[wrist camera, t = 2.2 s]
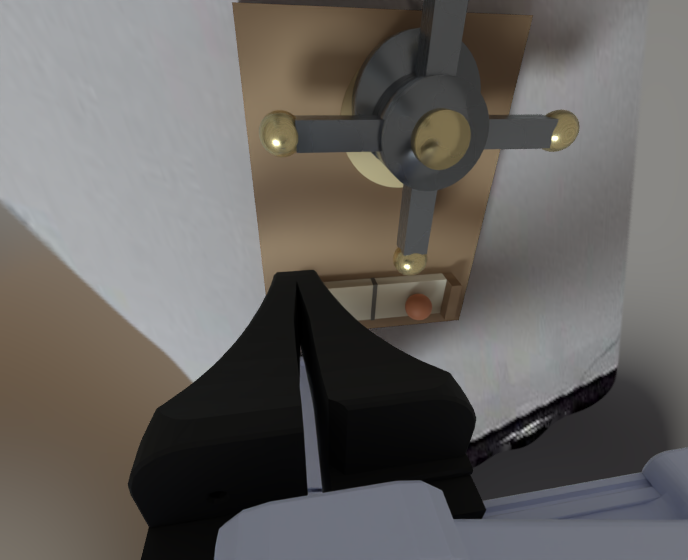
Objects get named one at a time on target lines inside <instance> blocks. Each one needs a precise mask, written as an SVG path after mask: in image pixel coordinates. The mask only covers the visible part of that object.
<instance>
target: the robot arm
mask: <svg viewBox="0 0 688 560" xmlns="http://www.w3.org/2000/svg"><path fill="white" fill-rule="evenodd" d="M300 345H301V350H302V354H303V356H302V357H300ZM475 423H476V416H475V412H474V409H473V407H472V406H471V404H470V402H469V400H468V398H467V397H466V395H465V394H464V392H463V390H462V389H461V387H460V386H459V385H458V383H457V382H456V381H455V379H454V378H453V377H452V375H451V374H450V373H449V372H447V371H444V370H442V369H439V368H437V367H435V366H432V365H430V364H427V363H425V362H423V361H420V360H418V359H416V358H414V357H412V356H410V355H408V354H406V353H405V352H403V351H401V350H399V349H397V348H396V347H394V346H392V345H390V344H389V343H387V342H386V341H384V340H383V339H381V338H380V337H378V336H377V335H375V334H374V333H372V332H371V331H370V330H368V329H367V328H366V327H365V326H363V325H362V324H361V323H360V322H359V321H358V320H357V319H355V318H354V317H353V316H352V315H351V314H350V313H349V312H348V311H347V310H346V309H345V308H344V307H343V306H342V305H341V304H340V302H339V301H338V300H337V299H336V298H335V297H334V296H333V294H332V293H331V292H330V291H329V290H328V288H327V287H326V286H325V284H324V283H323V281H322V280H321V279H320V277H319V275H318V274H317V272H316V271H315V270H301V271H287V272H277V273H276V274H275V275H274V276H273V280H272V283H271V286H270V288H269V290H268V292H267V295H266V296H265V298H264V300H263V302H262V304H261V306H260V308H259V309H258V311H257V313H256V314H255V316H254V317H253V319H252V320H251V322H250V324H249V325H248V326H247V328H246V329H245V331H244V332H243V333H242V335H241V336H240V337H239V338H238V339H237V341H236V342H235V343H234V344H233V345H232V347H231V348H230V349H229V350H228V351H227V352H226V353H225V354H224V355H223V356H222V357H221V358H220V359H219V360H218V361H217V362H216V363H215V364H214V365H213V366H212V367H211V368H210V369H209V370H208V371H206V372H205V373H204V374H203V375H202V376H201V377H200V378H198V379H197V380H196V381H195V382H194V383H192V384H191V385H190V386H188V387H187V388H186V389H184V390H183V391H182V392H180V393H179V394H177V395H176V396H175V397H173V398H172V399H170V400H169V401H168V402H166V403H165V404H163V405H162V406H160V407H158V408H157V409H156V411H155V413H154V415H153V417H152V419H151V421H150V423H149V425H148V427H147V430H146V431H145V434H144V436H143V438H142V440H141V443H140V446H139V448H138V451H137V454H136V458H135V461H134V464H133V467H132V471H131V474H130V478H129V482H128V487H129V490H130V494H131V496H132V498H133V500H134V501H135V503H136V505H137V507H138V509H139V510H140V512H141V514H142V516H143V517H144V519H145V521H146V522H147V524H148V526H149V529H148V533H147V537H146V541H145V546H144V549H143V553H142V557H141V560H688V447H686V448H681V449H675V450H669V451H665V452H662V453H659V454H657V455H655V456H654V457H652V458H651V459H650V460H649V461H648V462H647V463H646V465H645V466H644V468H643V471H642V472H641V473H635V474H630V475H624V476H618V477H613V478H608V479H602V480H597V481H591V482H585V483H580V484H574V485H568V486H563V487H558V488H552V489H547V490H541V491H535V492H530V493H525V494H518V495H513V496H507V497H502V498H496V499H491V500H485V501H482V499H481V497H480V495H479V493H478V491H477V488H476V486H475V484H474V482H473V480H472V478H471V476H470V474H472V472H473V468H472V465H471V463H470V461H469V459H468V457H467V455H466V451H467V448H468V445H469V443H470V440H471V437H472V434H473V431H474V428H475Z"/></svg>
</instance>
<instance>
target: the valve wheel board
mask: <svg viewBox="0 0 688 560" xmlns="http://www.w3.org/2000/svg"><path fill="white" fill-rule="evenodd" d="M232 5H233V14H234V22H235V31H236V40H237V48H238V57H239V66H240V74H241V83H242V92H243V100H244V109H245V118H246V126H247V135H248V144H249V152H250V161H251V170H252V179H253V187H254V196H255V205H256V213H257V222H258V231H259V239H260V248H261V257H262V265H263V274H264V283H265V291H266V295H267V292H268V290H269V288H270V286H271V283H272V280H273V276H274V275H275V274H276V273H277V272H287V271H301V270H315V271H316V272H317V274H318V275H319V277H320V279H321V280H322V281H323V283H324V284H325V286H326V287H327V288H328V290H329V291H330V292H331V293H332V294H333V296H334V297H335V298H336V299H337V300H338V301H339V302H340V304H341V305H342V306H343V307H344V308H345V309H346V310H347V311H348V312H349V313H350V314H351V315H352V316H353V317H354V318H355V319H357V320H358V321H359V322H360V323H361V324H362V325H363V326H365V327H366V328H367V329H369V328H379V327H390V326H400V325H411V324H421V323H431V322H442V321H452V320H459V316H460V312H461V308H462V304H463V300H464V296H465V292H466V288H467V284H468V280H469V275H470V271H471V267H472V263H473V259H474V255H475V251H476V247H477V243H478V239H479V235H480V230H481V226H482V222H483V218H484V214H485V210H486V206H487V202H488V198H489V194H490V189H491V185H492V181H493V177H494V173H495V169H496V165H497V161H498V157H499V153H500V149H486V150H483V152H482V154H481V156H480V158H479V160H478V161H477V163H476V164H475V165H474V167H473V168H472V169H471V170H470V171H469V172H468V173H467V174H466V175H465V176H464V177H463V178H462V179H460V180H459V181H457V182H456V183H454V184H453V185H451V186H449V187H446V188H443V189H440V190H437V195H436V201H435V207H434V214H433V220H432V226H431V232H430V238H429V244H428V250H427V264H426V266H425V268H424V269H423V270H422V271H421V272H420V273H419V274H416V275H412V276H408V275H404V274H402V273H400V272H399V271H398V270H397V269H396V268H395V266H394V263H393V255H394V252H395V250H396V248H397V247H398V246H397V235H398V226H399V217H400V208H401V199H402V190H403V183H401V182H400V181H399V180H398V179H397V178H396V177H395V176H394V175H393V174H392V173H391V172H390V171H389V170H388V169H387V168H386V167H385V166H384V165H383V164H382V163H381V161H380V160H379V159H377V158H376V157H375V156H374V155H373V154H372V153H371V152H328V153H297V152H296V153H294V154H293V155H291V156H288V157H277V156H274V155H272V154H270V153H269V152H268V151H267V150H266V149H265V148H264V147H263V145H262V144H261V141H260V138H259V126H260V123H261V121H262V119H263V118H264V117H265V116H266V115H267V114H268V113H270V112H272V111H275V110H284V111H288V112H290V113H292V114H293V115H352V93H353V88H354V83H355V80H356V77H357V75H358V72H359V70H360V68H361V66H362V64H363V63H364V61H365V59H366V58H367V57H368V55H369V54H370V53H371V51H372V50H373V49H374V48H375V47H376V46H377V45H378V44H380V43H381V42H382V41H384V40H385V39H386V38H388V37H390V36H391V35H393V34H395V33H398V32H401V31H404V30H408V29H414V28H421V19H422V11H419V10H396V9H373V8H350V7H327V6H304V5H281V4H258V3H235V2H232ZM532 17H533V15H511V14H488V13H466V18H465V24H464V30H463V36H462V42H463V43H464V44H465V45H466V46H467V48H468V49H469V50H470V52H471V53H472V55H473V57H474V59H475V61H476V64H477V67H478V71H479V76H480V84H481V95H482V96H483V98H484V100H485V103H486V105H487V109H488V114H489V115H509V112H510V108H511V103H512V99H513V95H514V91H515V87H516V83H517V79H518V75H519V71H520V67H521V62H522V58H523V54H524V50H525V46H526V42H527V38H528V34H529V30H530V26H531V22H532Z"/></svg>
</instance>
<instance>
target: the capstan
mask: <svg viewBox="0 0 688 560" xmlns="http://www.w3.org/2000/svg"><path fill="white" fill-rule="evenodd" d="M467 6H468V0H424V1H423V10H422V19H421V28H414V29H408V30H404V31H401V32H398V33H395V34H393V35H391V36H390V37H388V38H386V39H385V40H384V41H382V42H381V43H380V44H378V45H377V46H376V47H375V48H374V49H373V50H372V51H371V53H370V54H369V55H368V57H367V58H366V59H365V61H364V63H363V64H362V66H361V68H360V70H359V72H358V75H357V77H356V80H355V83H354V88H353V93H352V115H293V114H292V113H290V112H288V111H284V110H275V111H272V112H270V113H268V114H267V115H266V116H265V117H264V118H263V119H262V121H261V123H260V126H259V138H260V141H261V144H262V145H263V147H264V148H265V149H266V150H267V151H268V152H269V153H270V154H272V155H274V156H277V157H288V156H291V155H293V154H294V153H296V152H297V153H328V152H371V153H372V154H373V155H374V156H375V157H376V158H377V159H379V160H380V161H381V163H382V164H383V165H384V166H385V167H386V168H387V169H388V170H389V171H390V172H391V173H392V174H393V175H394V176H395V177H396V178H397V179H398V180H399V181H400V182H401V183H403V190H402V199H401V208H400V217H399V226H398V235H397V246H398V247H397V248H396V250H395V252H394V255H393V263H394V266H395V268H396V269H397V270H398V271H399V272H400V273H402V274H404V275H408V276H412V275H416V274H419V273H420V272H421V271H422V270H423V269H424V268H425V266H426V264H427V250H428V244H429V238H430V232H431V226H432V220H433V214H434V207H435V201H436V195H437V190H440V189H443V188H446V187H449V186H451V185H453V184H454V183H456V182H457V181H459V180H460V179H462V178H463V177H464V176H465V175H466V174H467V173H468V172H469V171H470V170H471V169H472V168H473V167H474V165H475V164H476V163H477V161H478V160H479V158H480V156H481V154H482V152H483V150H486V149H538V148H542V149H543V150H545V151H549V152H556V151H560V150H563V149H565V148H567V147H568V146H570V145H571V144H572V143H573V142H574V140H575V139H576V137H577V135H578V133H579V121H578V119H577V117H576V116H575V115H574V114H573V113H572V112H570V111H567V110H555V111H552V112H550V113H548V114H546V115H489V114H488V109H487V105H486V103H485V100H484V98H483V96H482V95H481V84H480V76H479V71H478V67H477V64H476V61H475V59H474V57H473V55H472V53H471V52H470V50H469V49H468V48H467V46H466V45H465V44H464V43H463V42H462V36H463V30H464V24H465V18H466V12H467Z"/></svg>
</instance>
